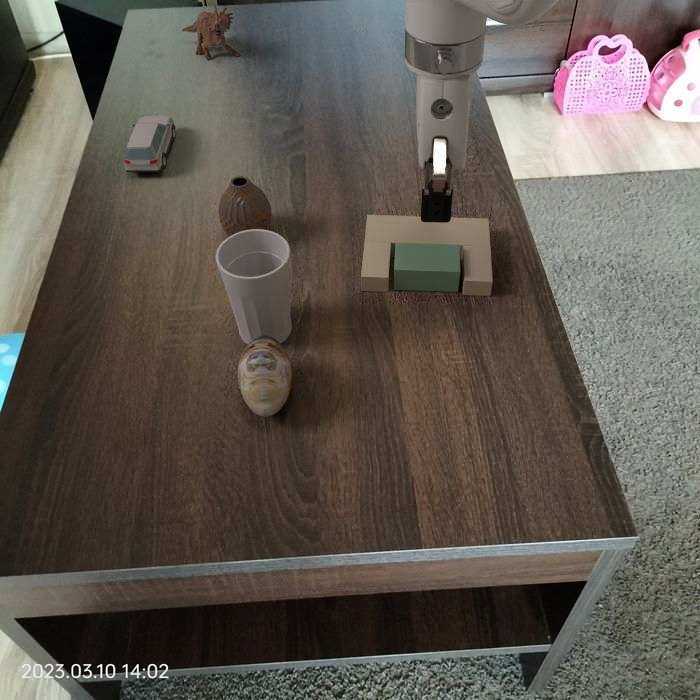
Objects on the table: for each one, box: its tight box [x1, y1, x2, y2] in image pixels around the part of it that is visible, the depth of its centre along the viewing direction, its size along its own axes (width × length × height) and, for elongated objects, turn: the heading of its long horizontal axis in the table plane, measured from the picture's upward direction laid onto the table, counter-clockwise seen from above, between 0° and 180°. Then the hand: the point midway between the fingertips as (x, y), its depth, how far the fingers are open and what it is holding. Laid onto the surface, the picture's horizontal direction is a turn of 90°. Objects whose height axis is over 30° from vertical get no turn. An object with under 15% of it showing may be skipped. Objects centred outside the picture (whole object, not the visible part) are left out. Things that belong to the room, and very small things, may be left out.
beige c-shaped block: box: [360, 214, 494, 297], centre depth 93 cm, size 16×12×2 cm
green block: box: [393, 243, 461, 293], centre depth 91 cm, size 8×5×4 cm, turn 85°
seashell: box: [237, 335, 293, 418], centre depth 77 cm, size 10×6×8 cm, turn 4°
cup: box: [215, 229, 293, 345], centre depth 83 cm, size 8×8×12 cm
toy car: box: [123, 114, 176, 173], centre depth 110 cm, size 6×13×5 cm, turn 178°
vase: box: [218, 175, 273, 237], centre depth 95 cm, size 7×7×9 cm
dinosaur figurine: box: [181, 5, 241, 61], centre depth 129 cm, size 14×6×9 cm, turn 42°
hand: (435, 193), depth 82 cm, fingers open, 9 cm apart
